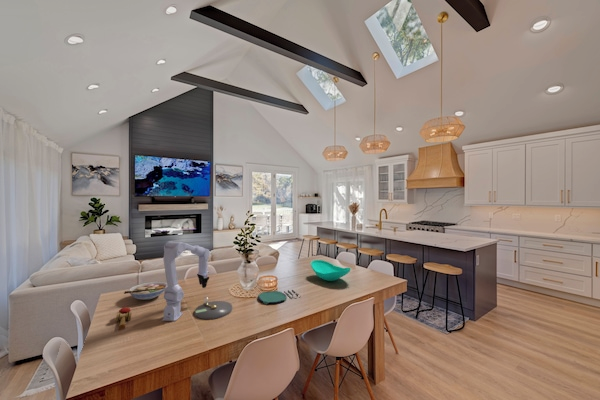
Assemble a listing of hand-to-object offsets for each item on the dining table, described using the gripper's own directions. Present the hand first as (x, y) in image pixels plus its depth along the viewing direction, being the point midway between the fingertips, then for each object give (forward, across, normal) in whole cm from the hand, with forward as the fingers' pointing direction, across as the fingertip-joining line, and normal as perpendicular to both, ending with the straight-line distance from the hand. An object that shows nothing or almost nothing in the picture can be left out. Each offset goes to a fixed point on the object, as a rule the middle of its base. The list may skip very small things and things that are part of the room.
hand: (202, 285), depth 167 cm
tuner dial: (+10, -19, -2) cm, 22 cm away
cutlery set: (+11, -22, -47) cm, 53 cm away
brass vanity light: (+8, -15, -1) cm, 18 cm away
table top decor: (+10, -12, -104) cm, 105 cm away
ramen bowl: (+10, +24, +30) cm, 40 cm away
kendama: (+11, -7, +43) cm, 45 cm away
